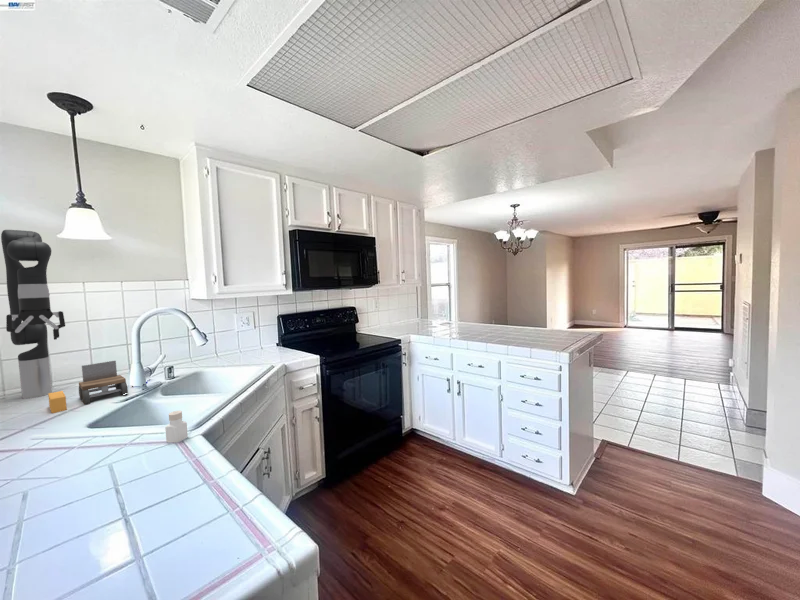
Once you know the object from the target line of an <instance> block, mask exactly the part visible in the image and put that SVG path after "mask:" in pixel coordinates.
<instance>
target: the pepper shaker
mask: <svg viewBox="0 0 800 600" xmlns="http://www.w3.org/2000/svg"><path fill="white" fill-rule="evenodd" d="M168 422H169V423H168V424H167V425H166V426H165V429H164V430H165V438H166V439H165V440H166V443H171V444H178V443H179V442H182V441H183V440H186V439H187V438H188V436H189V435H188V422H187V421H184V420H183V411H182V410H175V411H171V412H169V413H168Z"/></svg>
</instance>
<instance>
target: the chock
mask: <svg viewBox="0 0 800 600" xmlns="http://www.w3.org/2000/svg"><path fill="white" fill-rule="evenodd" d="M47 396H48V405H49V407H48V408H49V410H50V413H51V414H56V413H59V412H60V413H61V412H65V411H67V410H68V409H67V396H66V394H65V393H64V391H63V390H60V391H54V392H52V393H48V395H47Z"/></svg>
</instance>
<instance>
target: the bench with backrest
mask: <svg viewBox="0 0 800 600" xmlns="http://www.w3.org/2000/svg"><path fill="white" fill-rule="evenodd" d="M81 372H82V381H79V382H78V396H79V400H80V401H81V400H82V403H83V405H88V404H90V403H91V398H94V397H100V396H105V395H109V394H114V393H120V395H121V394H125V393H128V394H129V390H128V384H127V381H126V380H127V379H126V377H124V376H122V375H121V374H118V373H117V372H118V371H117V360H110V361H104V362H96V363H91V364H86V365H81ZM114 388H115V389H114ZM109 389H110V390H109ZM99 391H101V392H99ZM119 391H120V392H119ZM94 392H97V393H94Z"/></svg>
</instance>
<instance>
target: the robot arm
mask: <svg viewBox="0 0 800 600" xmlns="http://www.w3.org/2000/svg"><path fill="white" fill-rule="evenodd" d="M0 239H1V247H2V253H3V257H4V264H5V273H6V276H5V277H6V292H7V297H8V305H9V314H6V317H5V320H6V327H5V328H6V332H7V333H8V332H9V333H10V340H11V342H12V344H13V345H15V346H24V345H33V344H36V346H35V347H33V348H31V349H29V350H26V351H24V352H21V353H19V354H18V356H17V361H18V370H19V379H20V380H19V381H20V392H21V399H22V400H28V399H36V398H41V397H44V396H48V393H53V388H52V375H51V368H50V366H51V365H50V357H49V348H48V346H49V345H48V327H47V325H49V326H50V327H52V335H53V340H55V341H56V340H57V339H58V338H60V329H61V328H64V327H66V322H65V316H64V311H54V312H52V309H51V300H50V299H51V297H50V290H49V285H48V278H47V275H48V274H47V270H48V268H47V267H48V264H49V261H50V258H51V256H52V248H51V245H49V244H48V243H46V242H43V239H42V236H41V234H40V233H38V232H36V231H33V230H32V231H31V230H19V229H4V230H2V231H1V233H0ZM21 262H37V264H36V265H34V266H28V267H25V266H24V265H23V264H22V263H21ZM53 316H54V317H56V318H58V320H59V321H58V322H59V324H55V323H54V322H53V321H51V320H50V319H51V318H52V317H53Z"/></svg>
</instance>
